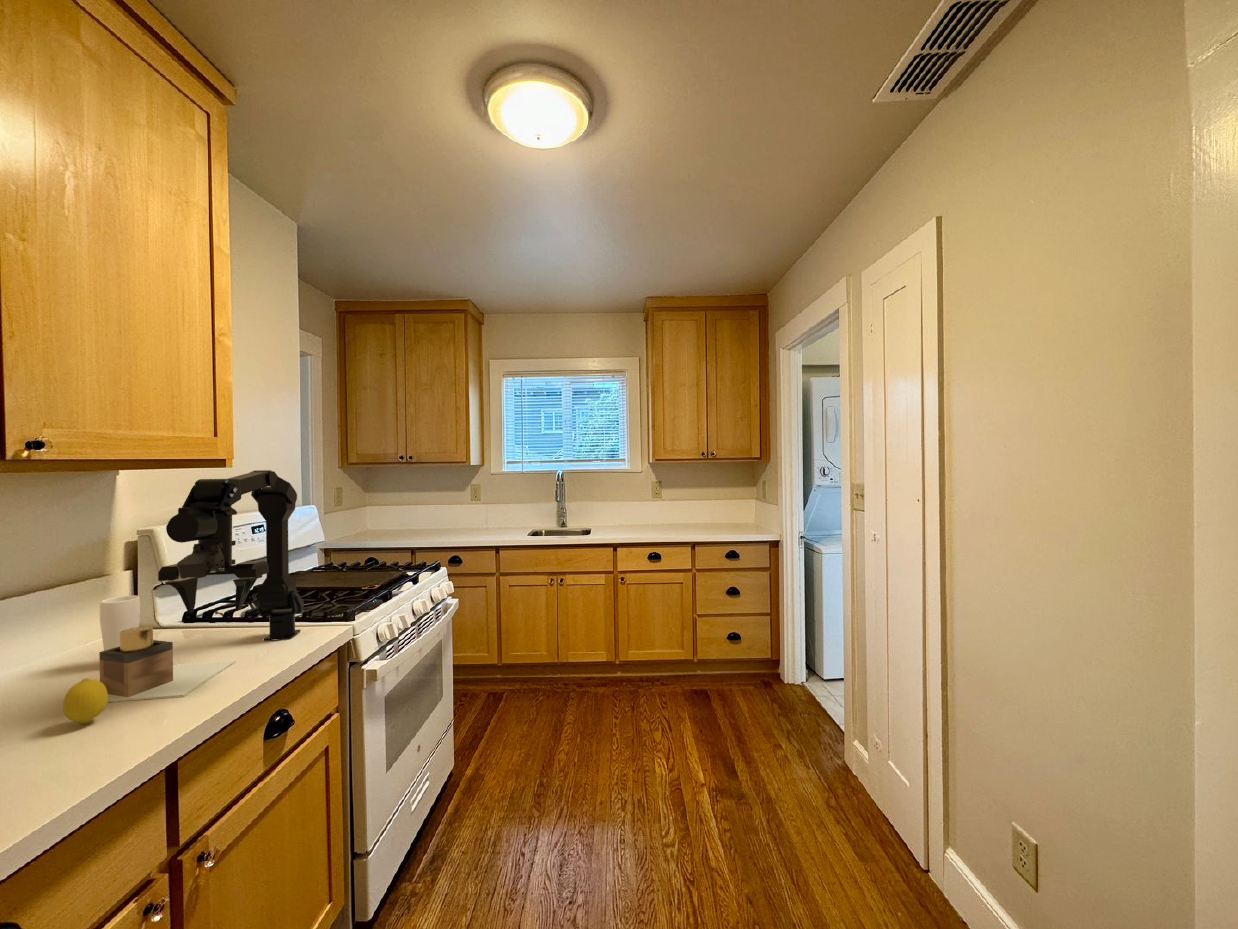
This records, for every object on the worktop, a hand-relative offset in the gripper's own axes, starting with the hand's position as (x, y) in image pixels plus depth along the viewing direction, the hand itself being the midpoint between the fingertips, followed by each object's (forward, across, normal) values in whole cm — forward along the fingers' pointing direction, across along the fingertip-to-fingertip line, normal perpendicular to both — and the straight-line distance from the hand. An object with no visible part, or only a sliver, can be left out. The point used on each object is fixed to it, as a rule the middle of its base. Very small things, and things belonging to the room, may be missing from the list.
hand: (214, 611), depth 111 cm
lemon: (+15, -11, -17) cm, 25 cm away
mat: (+14, -10, +1) cm, 18 cm away
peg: (+11, -13, -2) cm, 17 cm away
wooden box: (+14, -13, -2) cm, 20 cm away
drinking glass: (+14, -28, +14) cm, 34 cm away
